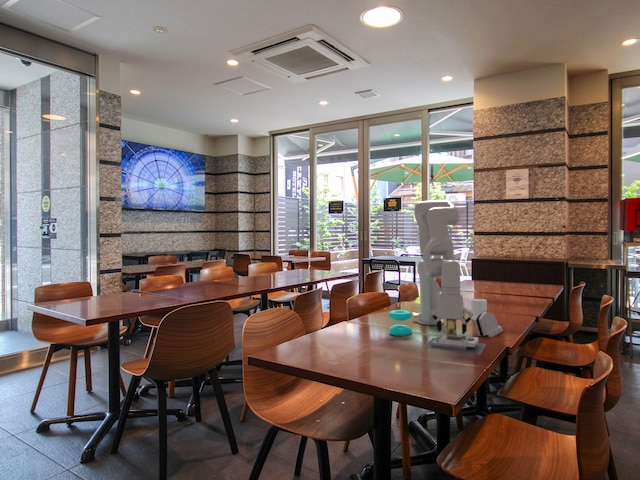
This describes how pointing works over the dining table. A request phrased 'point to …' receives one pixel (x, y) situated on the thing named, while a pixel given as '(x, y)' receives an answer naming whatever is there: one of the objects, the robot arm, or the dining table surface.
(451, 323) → the brass pin
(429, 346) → the mat
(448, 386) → the dining table surface
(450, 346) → the grey block with hole
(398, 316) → the donuts
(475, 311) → the white cup
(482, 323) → the white slotted device
